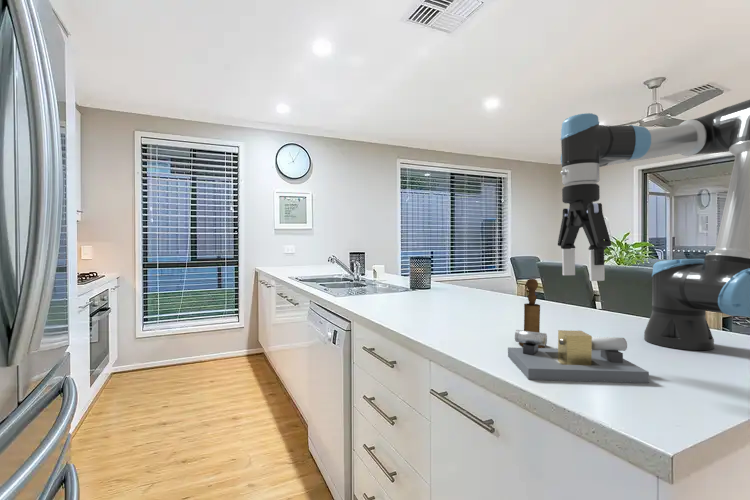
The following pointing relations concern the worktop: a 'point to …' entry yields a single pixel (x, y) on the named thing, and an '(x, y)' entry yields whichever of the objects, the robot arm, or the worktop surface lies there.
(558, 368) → the grey frame with rollers
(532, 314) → the brown tall knobbed post
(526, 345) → the shaft
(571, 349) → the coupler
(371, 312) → the worktop surface
